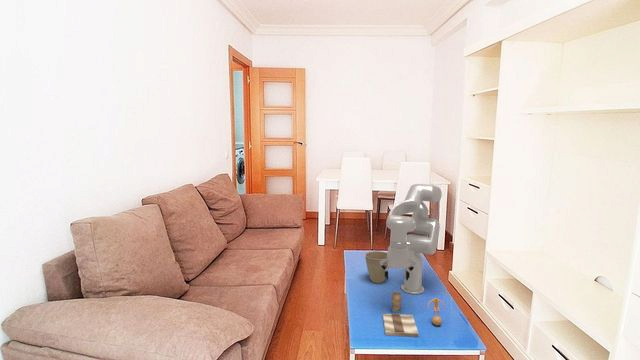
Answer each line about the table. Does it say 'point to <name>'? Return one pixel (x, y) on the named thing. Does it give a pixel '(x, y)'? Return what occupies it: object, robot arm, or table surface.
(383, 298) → the table surface
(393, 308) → the brown cylinder
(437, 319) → the figurine
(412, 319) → the floor board
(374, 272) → the plant pot
